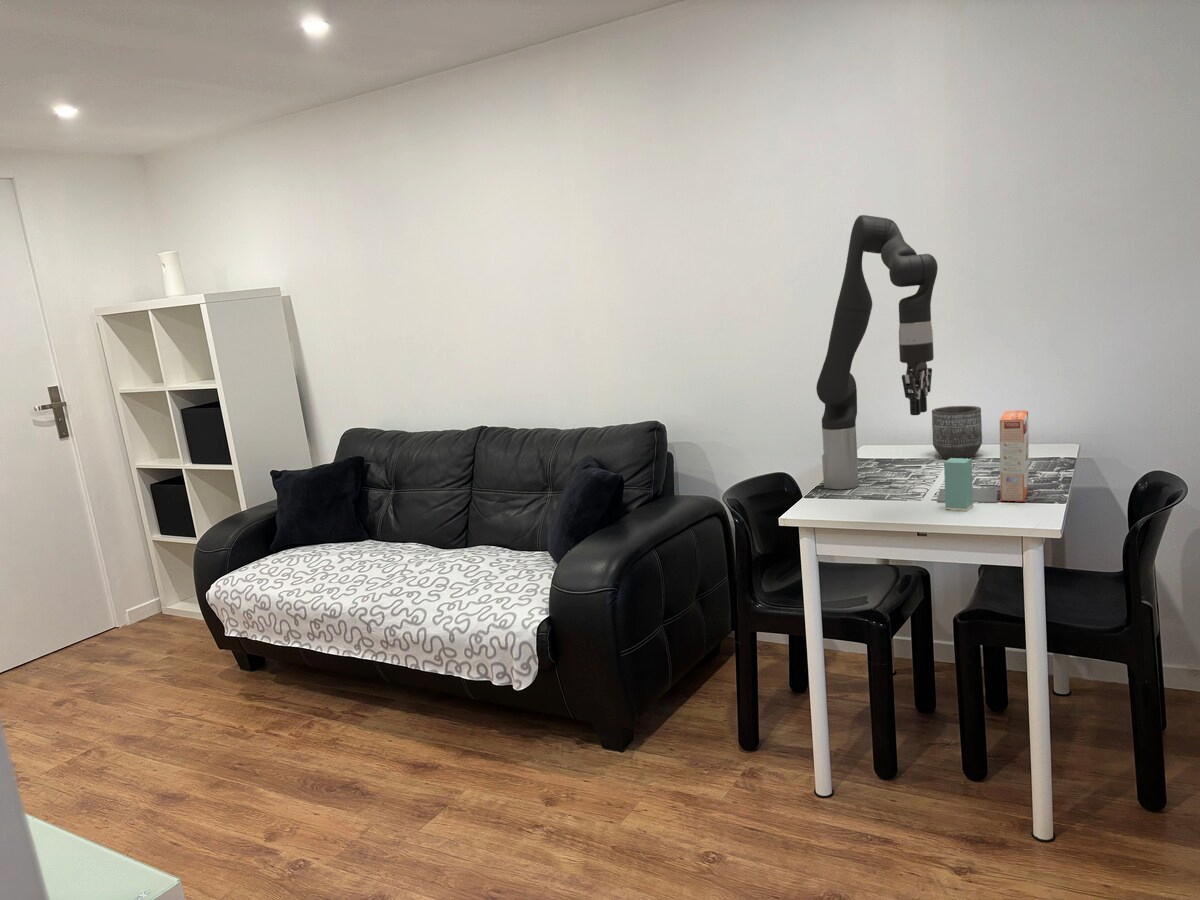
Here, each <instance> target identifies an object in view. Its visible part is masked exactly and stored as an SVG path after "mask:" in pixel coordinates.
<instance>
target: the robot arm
mask: <svg viewBox="0 0 1200 900" xmlns="http://www.w3.org/2000/svg"><path fill="white" fill-rule="evenodd" d="M849 239H850V240H849V243H848V244H849V245H848V250H847V258H846V262H845V270H844V275H843V279H842V282H841V287H840V290H839V296H838V299H837V303H836V307H835V309H834V310H835V311H834V315H833V322H832V326H831V330H830V335H829V341H828V347H827V352H826V356H825V359H824V362H823V364H822V368H821V369H820V370H821V371H820V374H819V377H818V379H817V382H816V394H817V397H818V399H819V400H820V401H821V402H822V403H823V404H824V411H823V415H822V418H821V431H822V434H821V435H822V446H823V447H822V448H823V449H822V450H823V455H822V456H821V458H822V459H821V460H822V477H823V480H822V481H823V488H824V489H830V490H849V489H855V488H857V487H859V485H860V484H859V483H860V481H859V478H860V477H859V465H858V444H857V442H858V441H857V425H856V421H857V420H856V419H857V416H858V390H857V382H856V379H855V377H854V376H853V374H852V373H851V369H852V363H853V359H854V358H855V355H856V353H857V350H858V348H859V346H860V344H861V343H862V340H863V339H864V336H865V333H866V330H867V328H868V325H869V323H870V318H871V314H872V309H873V300H872V298H873V297H872V296H871V292H870V290H869V287H868V284H867V281H866V279H865V275H864V271H863V257H864V256H863V255H864V253H871V254H879V255H880V258H881V261H882V263H883V264H884V265H885V267H886V268H887V269H888V270H889V280H890V282H891V284H892V285H893V286H895V287H898V288H907V287H915V286H917V287H918V290H917V291H916V292H915V294H912V295H910V296H906V297H902V298H901V299H900V300H899V302H898V319H899V321H898V322H899V327H898V343H899V344H898V347H899V348H898V349H899V362H900V363H902V364H906V371H905V374H902V375H901V381H902V386H903V391H904V397H905V399H908V400H909V412H910V413H909V414H910V415H911V416H919V415H921V413H926V412H927V411H928V403H927V401H928V400H927V397H928V395H929V393H931V387H932V375H933V369H932V367H928V364H927V362H928V363H929V362H931V361H933V360H934V357H935V356H934V333H933V332H934V331H933V326H932V314H931V312H932V311H931V308H932V307H931V303H932V296H933V291H934V290H933V289H934V286H935V283H936V278H937V275H938V262H937V259H936V257H934V256H933V255H932V254H930V253H922V254H917V252H916V251H915V249H914V248H913V247H911V246H910V244H908V243H907V242H906V241H905V239H904V238H903V234H902V232H901V230H900V228H899V226H898V224H897V223H896V222H895V221H894V220H893V219H890V218H887V217H881V216H873V215H867V214H862V215H859V216H857V218H855V220H854V222H853V226H852V229H851V234H850V238H849Z"/></svg>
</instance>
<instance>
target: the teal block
mask: <svg viewBox="0 0 1200 900" xmlns="http://www.w3.org/2000/svg"><path fill="white" fill-rule="evenodd" d="M943 465H944V466H943V467H944V468H943V470H944V472H943V473H944V489H945V503H944V504H945V510H946V509H950V510H949V511H956V510H964V511H963V512H968V511H969V510H970V509H972V508H973V507H974V503H973V489H974V488H973V458H969V459H963V458H950V459H946V460H945V461H944V462H943ZM972 506H973V507H972ZM971 507H972V508H971ZM968 509H969V510H968ZM967 510H968V511H967Z"/></svg>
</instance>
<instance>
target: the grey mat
mask: <svg viewBox="0 0 1200 900" xmlns="http://www.w3.org/2000/svg"><path fill="white" fill-rule="evenodd" d="M998 492H999V491H998V488H973V502H978V503H977V504H998ZM936 499H937V500H936V503H937V502H945V488H940V489H939V491H938V496H937V498H936ZM982 502H983V503H982Z"/></svg>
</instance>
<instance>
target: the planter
mask: <svg viewBox="0 0 1200 900" xmlns="http://www.w3.org/2000/svg"><path fill="white" fill-rule="evenodd" d="M931 417H932V418H931V422H932V423H931V425H932V426H931V427H932V445H933V448H934V449H935V452H937V454H938V456H940V457H942V459H944V458H946V459H945V460H948V459H950V458H963V459H967V458H969V459H973V458H974V457H975V456H976V455H977V453H978V452H979V450H980V448H981V446H982V444H983V434H982V433H983V432H982V408H981V407H980V406H976V405H956V406H955V405H949V406H942V407H939V408H938V407H936V408H934V409H932V410H931ZM972 457H973V458H972Z"/></svg>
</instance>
